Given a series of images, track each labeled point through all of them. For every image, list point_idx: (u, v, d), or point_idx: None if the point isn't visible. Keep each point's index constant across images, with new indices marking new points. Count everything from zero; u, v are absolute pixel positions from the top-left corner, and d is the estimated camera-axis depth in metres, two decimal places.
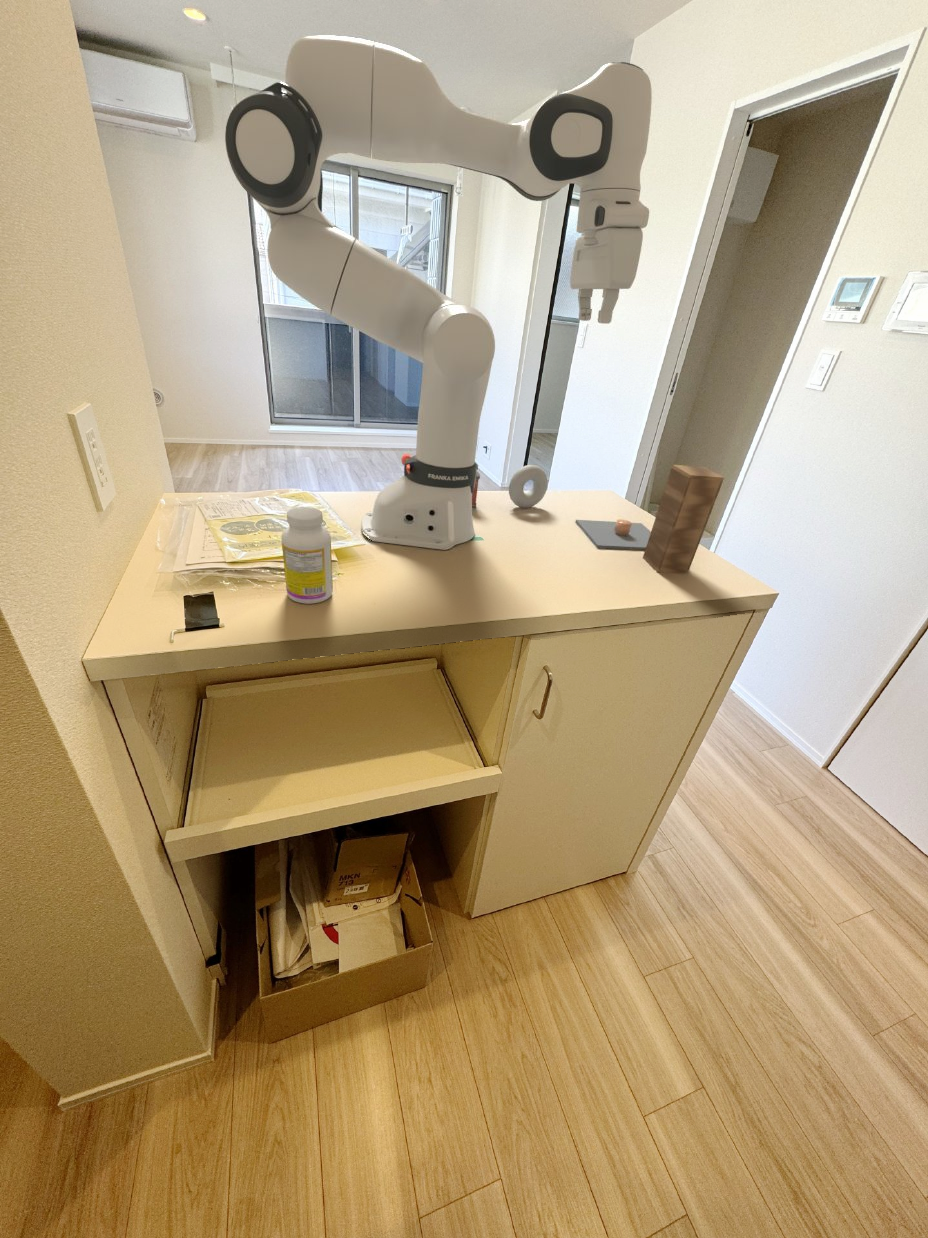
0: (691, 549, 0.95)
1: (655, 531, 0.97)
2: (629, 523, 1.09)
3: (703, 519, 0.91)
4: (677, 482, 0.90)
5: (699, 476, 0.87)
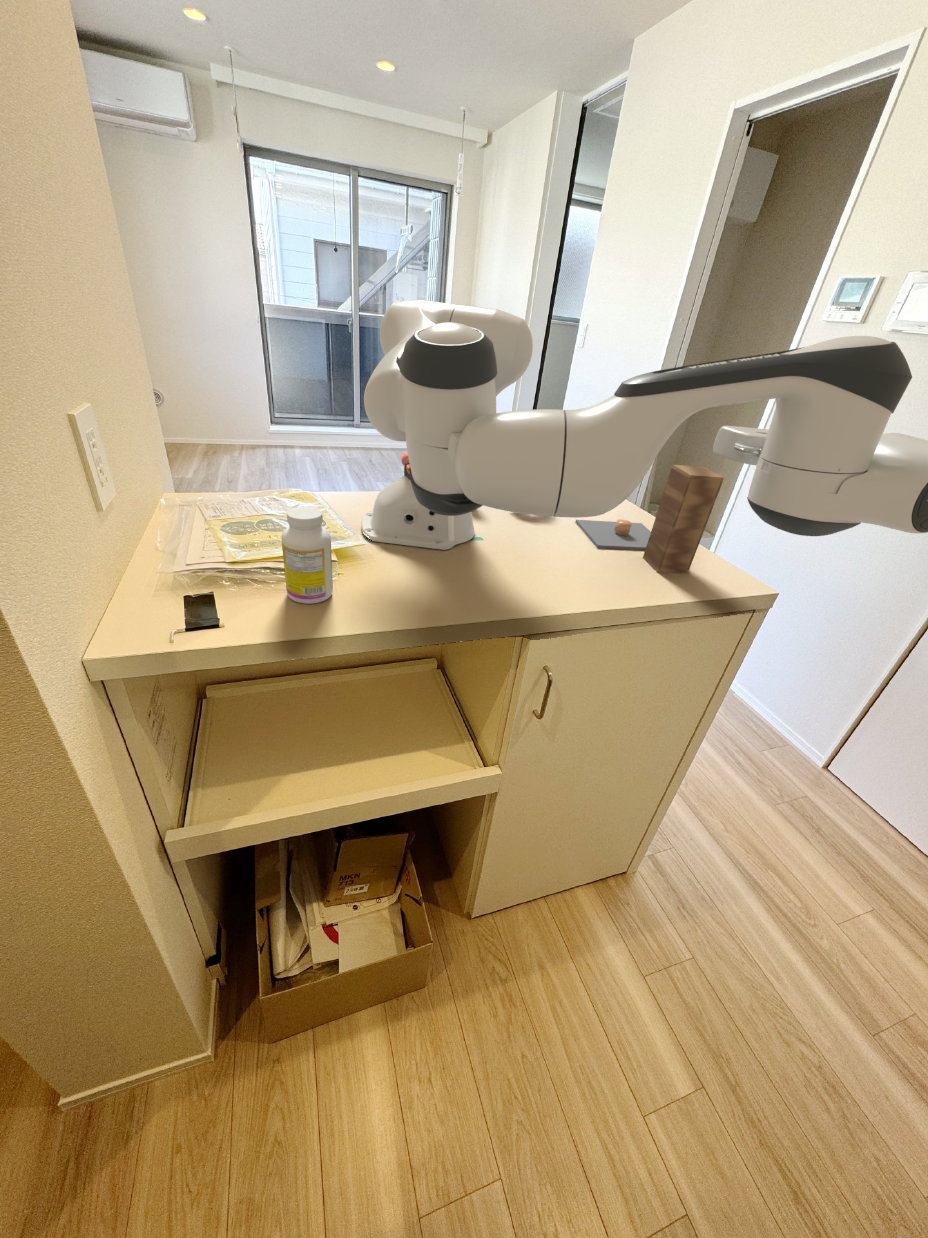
0: (691, 549, 0.95)
1: (655, 531, 0.97)
2: (629, 523, 1.09)
3: (703, 519, 0.91)
4: (677, 482, 0.90)
5: (699, 476, 0.87)
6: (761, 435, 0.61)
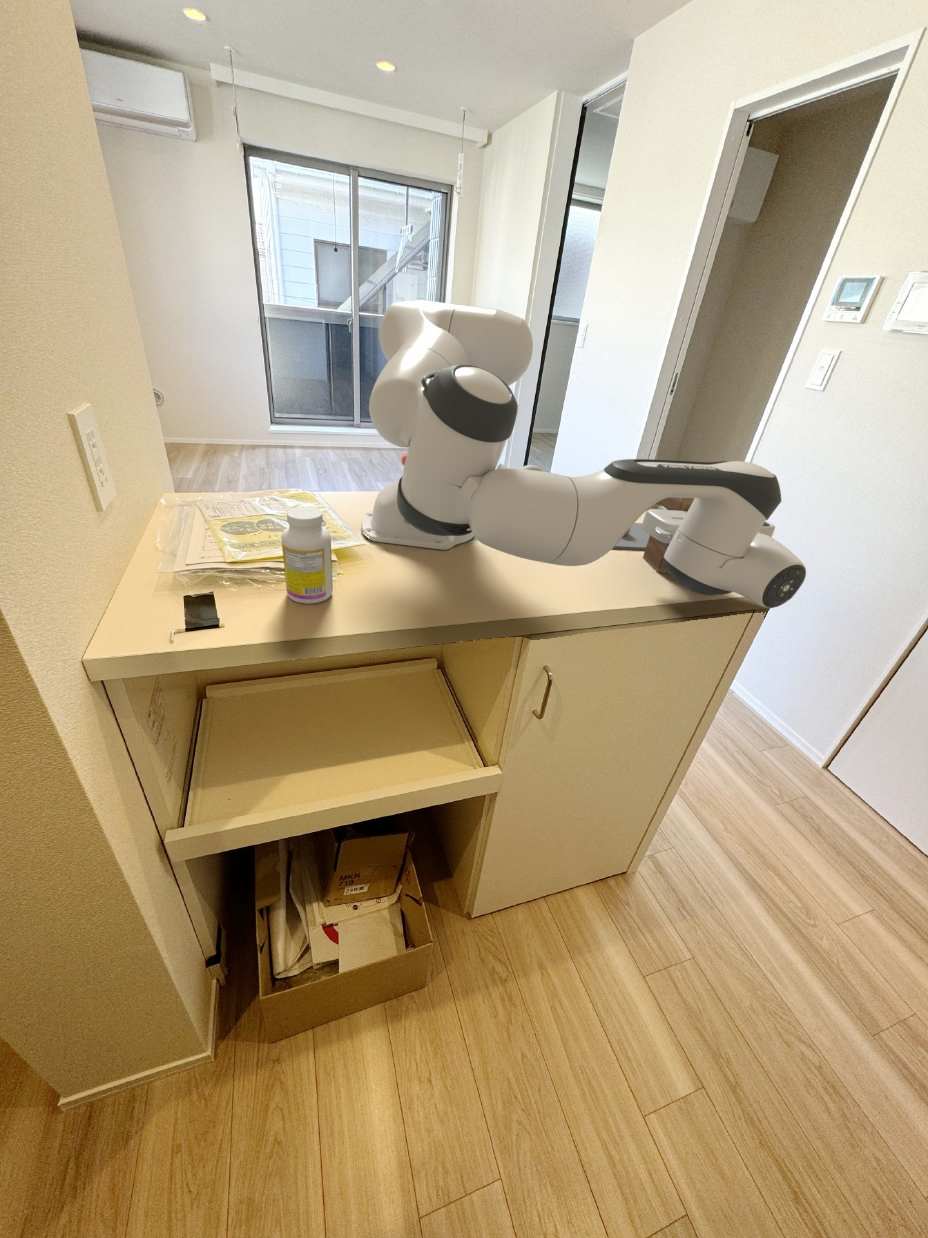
0: None
1: None
2: None
3: None
4: None
5: None
6: (674, 523, 0.83)
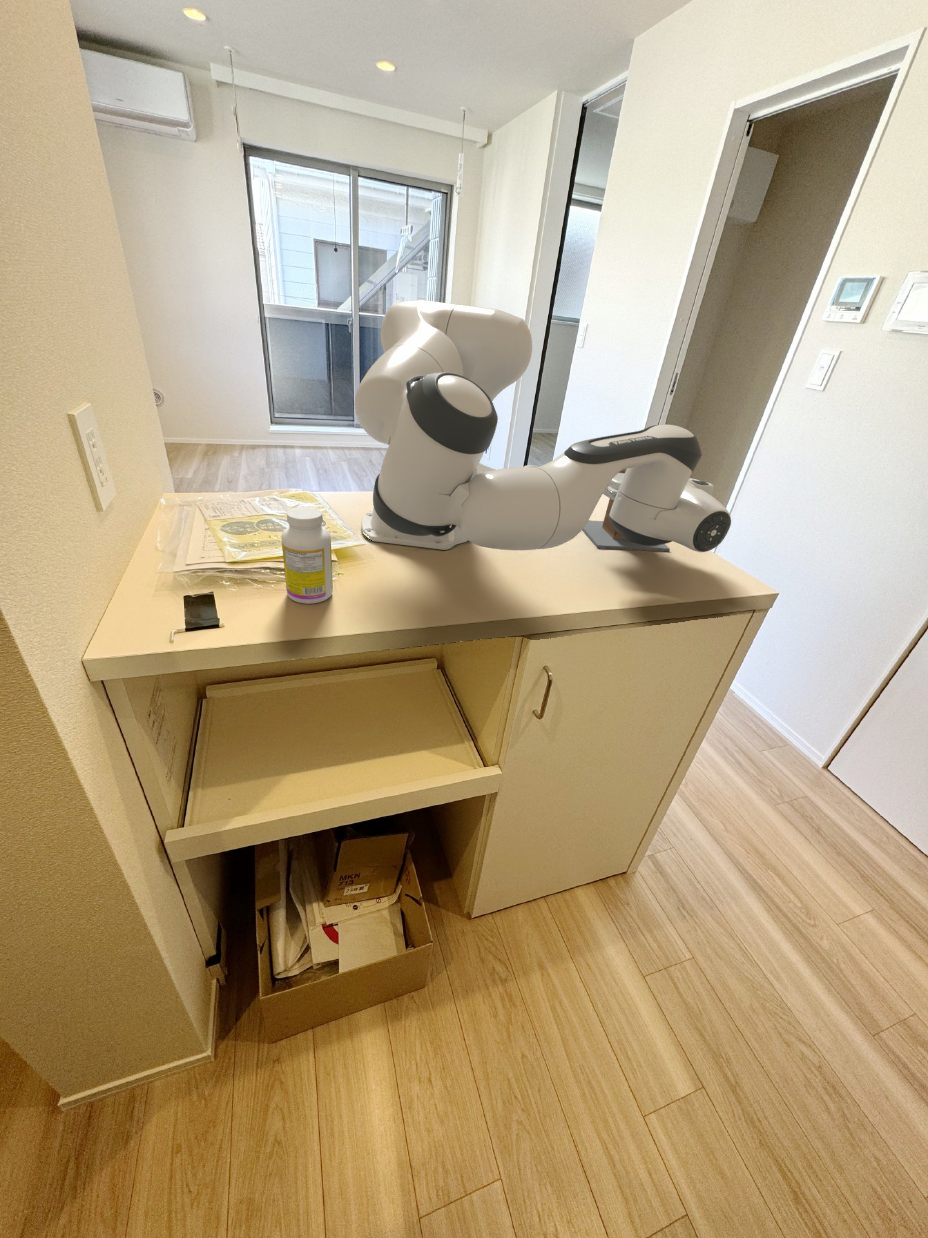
0: None
1: (611, 502, 1.08)
2: None
3: None
4: None
5: None
6: None
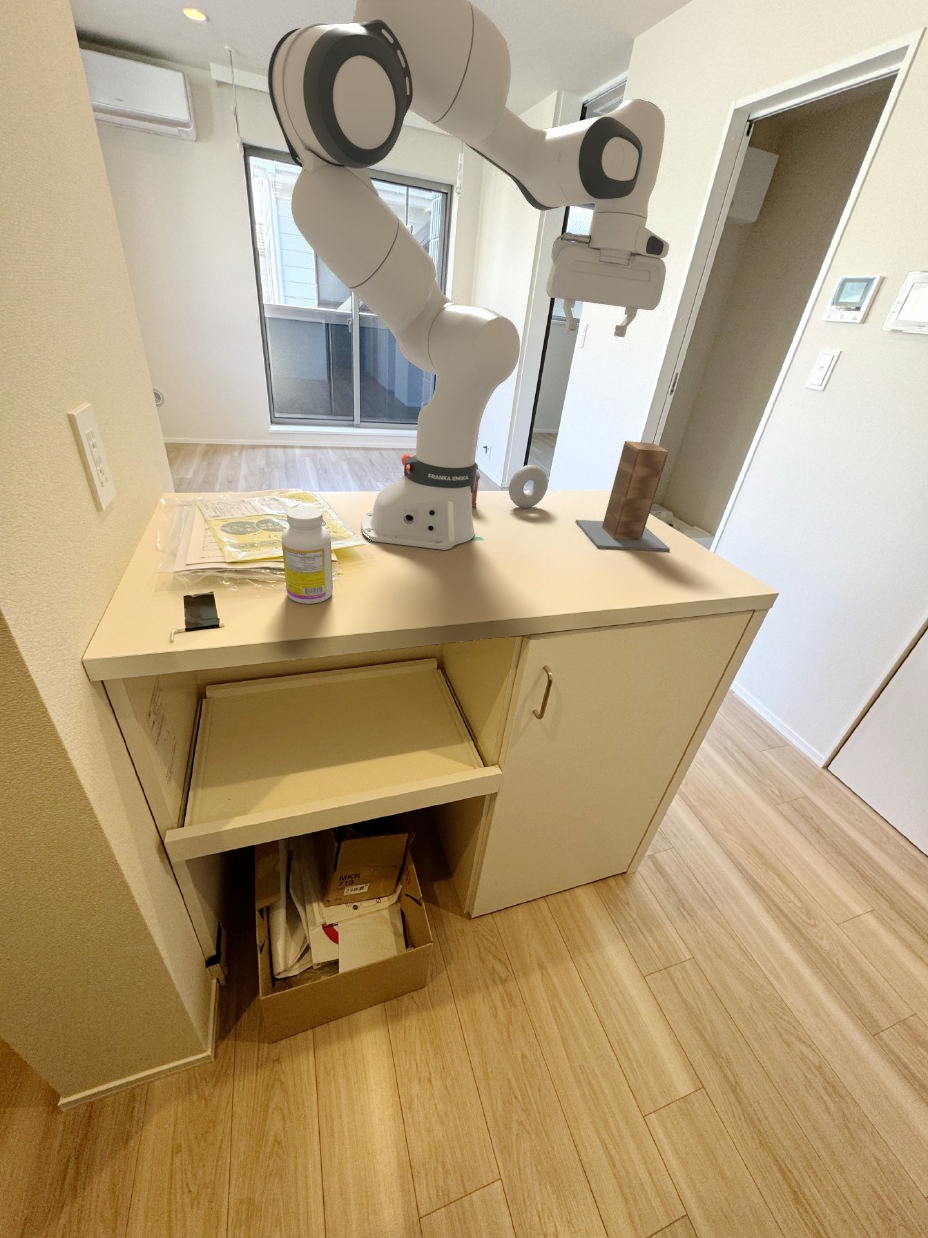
0: (643, 517, 1.05)
1: (611, 502, 1.08)
2: None
3: (652, 489, 1.02)
4: (628, 456, 1.01)
5: (646, 450, 0.98)
6: None
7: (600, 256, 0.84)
